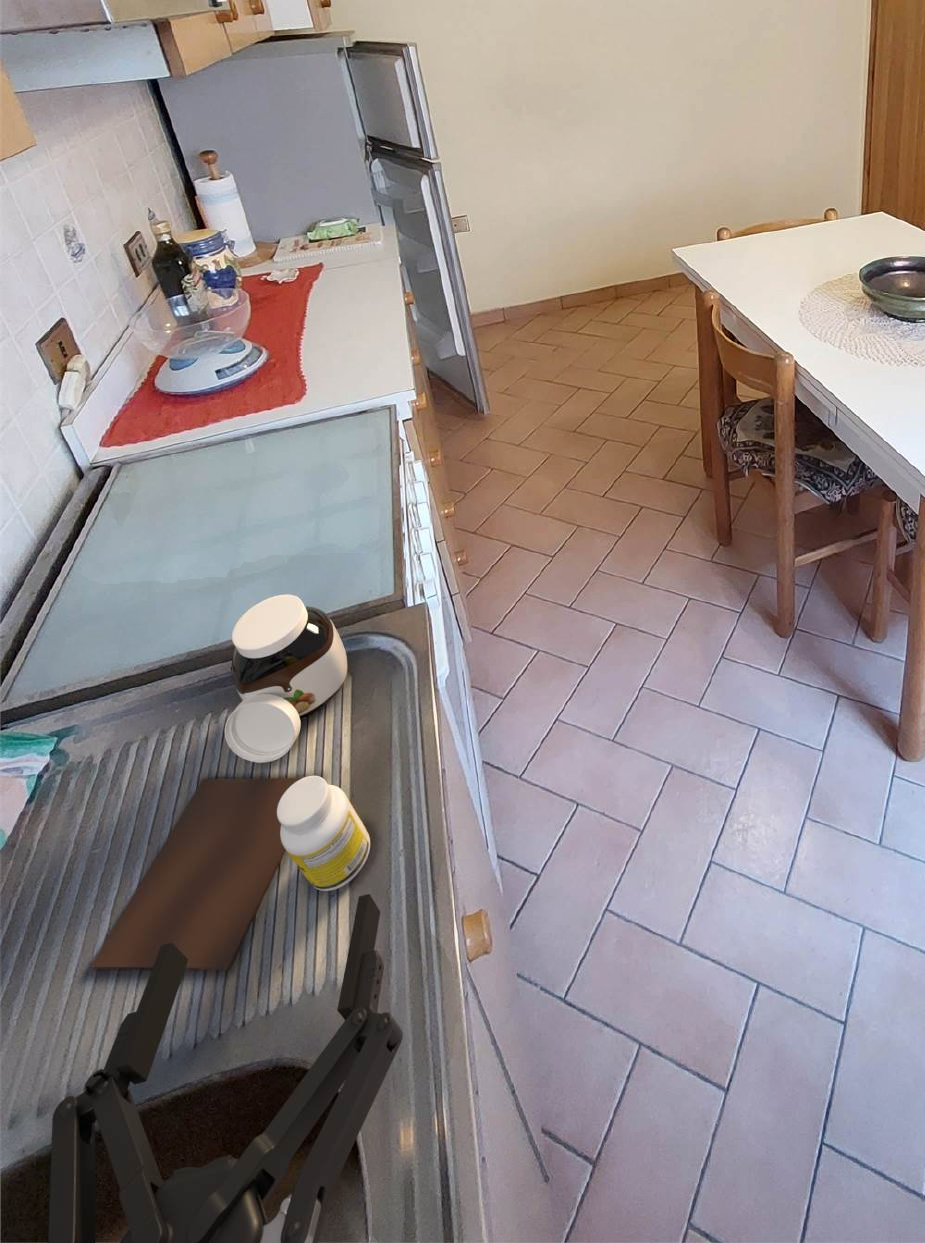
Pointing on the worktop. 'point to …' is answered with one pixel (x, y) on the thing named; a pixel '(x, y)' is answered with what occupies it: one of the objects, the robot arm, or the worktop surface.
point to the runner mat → (204, 879)
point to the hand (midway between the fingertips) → (274, 927)
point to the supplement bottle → (322, 833)
